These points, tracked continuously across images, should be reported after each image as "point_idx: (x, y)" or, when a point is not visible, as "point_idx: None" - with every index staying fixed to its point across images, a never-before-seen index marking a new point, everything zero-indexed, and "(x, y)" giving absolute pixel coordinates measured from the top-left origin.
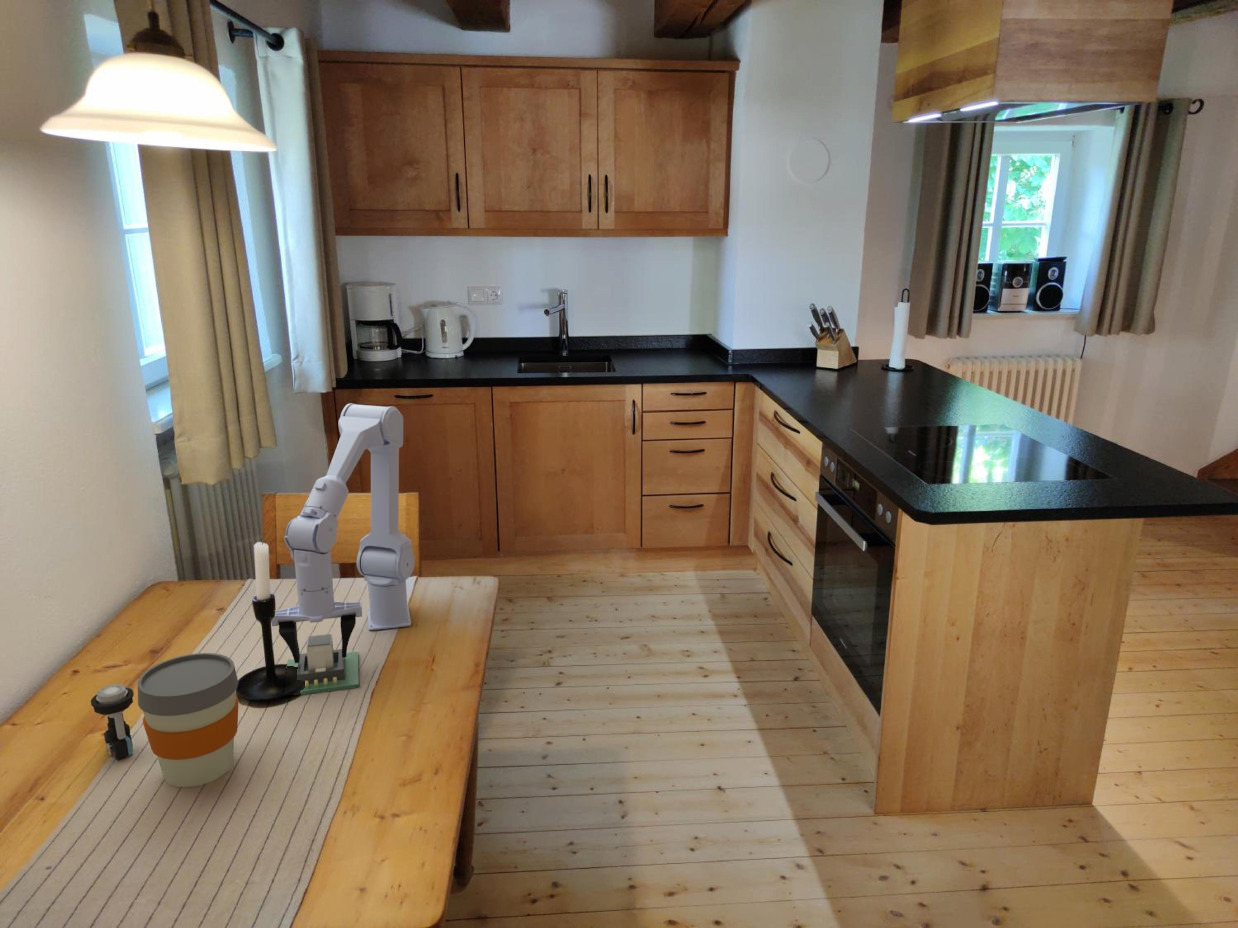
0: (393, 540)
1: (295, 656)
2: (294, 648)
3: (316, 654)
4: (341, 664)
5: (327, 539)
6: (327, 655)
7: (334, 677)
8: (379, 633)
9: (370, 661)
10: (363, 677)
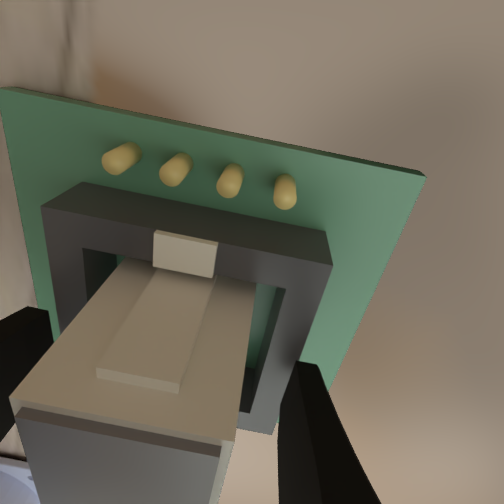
0: None
1: (319, 401)
2: (331, 468)
3: (173, 354)
4: (66, 266)
5: None
6: (105, 329)
7: (116, 170)
8: (8, 442)
9: (2, 305)
10: (7, 186)
